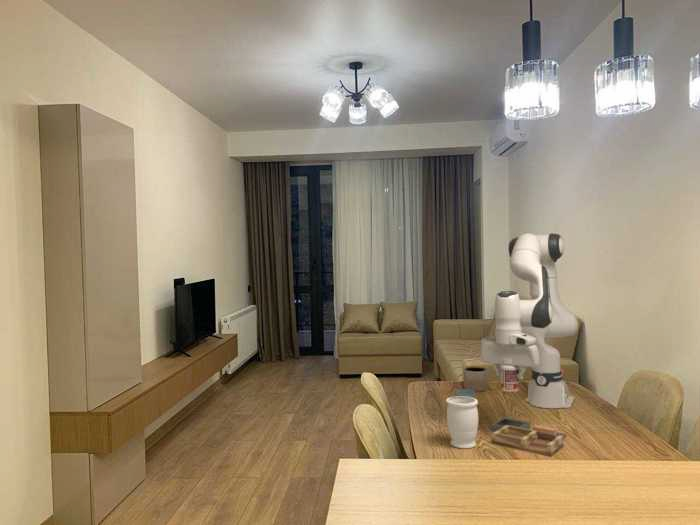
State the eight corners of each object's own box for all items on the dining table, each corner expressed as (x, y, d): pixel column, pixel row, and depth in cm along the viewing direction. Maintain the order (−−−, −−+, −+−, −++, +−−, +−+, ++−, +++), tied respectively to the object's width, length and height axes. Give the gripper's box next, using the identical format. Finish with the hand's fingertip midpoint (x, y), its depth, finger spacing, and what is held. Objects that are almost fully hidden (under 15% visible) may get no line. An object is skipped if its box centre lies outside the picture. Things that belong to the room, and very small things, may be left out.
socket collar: (503, 422, 197) (503, 417, 197) (530, 428, 190) (530, 422, 190) (490, 430, 189) (490, 424, 189) (518, 435, 182) (518, 430, 182)
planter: (484, 393, 240) (483, 372, 240) (461, 390, 246) (460, 370, 246) (490, 387, 249) (489, 367, 249) (468, 385, 255) (467, 366, 255)
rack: (505, 434, 184) (505, 424, 184) (563, 446, 171) (563, 435, 171) (491, 443, 175) (491, 432, 175) (551, 456, 162) (551, 445, 162)
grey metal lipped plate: (540, 431, 186) (540, 423, 186) (566, 436, 180) (566, 428, 180) (529, 439, 178) (529, 431, 178) (556, 444, 172) (555, 436, 172)
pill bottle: (522, 390, 181) (522, 357, 181) (511, 393, 178) (510, 359, 178) (508, 387, 186) (508, 355, 186) (496, 389, 183) (496, 357, 183)
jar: (444, 440, 180) (442, 396, 180) (473, 438, 181) (472, 395, 181) (452, 451, 169) (451, 405, 169) (483, 449, 170) (482, 403, 170)
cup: (471, 414, 208) (470, 388, 208) (479, 420, 200) (478, 393, 200) (453, 416, 206) (452, 390, 206) (460, 422, 199) (460, 395, 199)
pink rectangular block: (536, 435, 180) (535, 424, 180) (556, 439, 176) (556, 428, 176) (533, 436, 178) (533, 426, 178) (554, 441, 174) (553, 430, 174)
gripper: (477, 337, 187) (478, 375, 186) (533, 340, 173) (534, 382, 173) (485, 335, 191) (486, 373, 191) (540, 338, 178) (541, 379, 178)
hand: (509, 377), depth 182 cm, fingers closed on pill bottle, 6 cm apart
